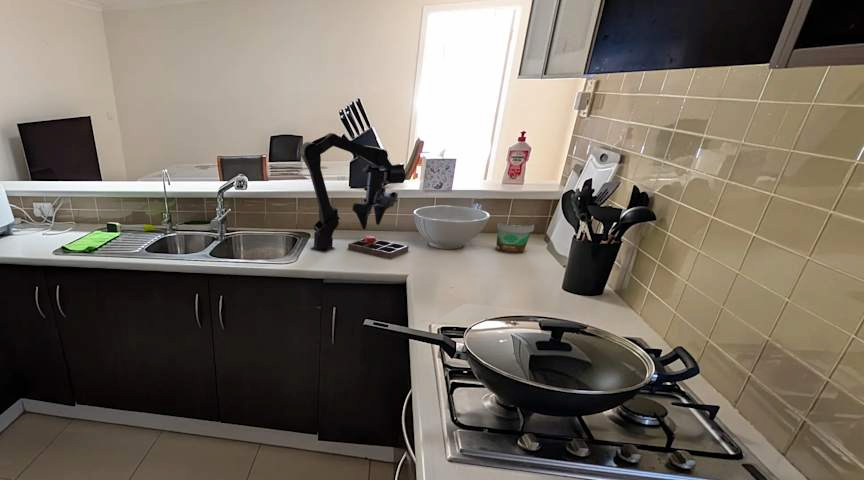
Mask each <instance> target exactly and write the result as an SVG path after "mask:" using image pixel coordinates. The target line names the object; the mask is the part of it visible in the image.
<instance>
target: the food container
mask: <svg viewBox="0 0 864 480" xmlns="http://www.w3.org/2000/svg"><path fill="white" fill-rule="evenodd" d="M496 229H497V235H496V244H495V250H496V251H497V252H500V253H504V254H510V255H511V254H512V255H516V254H523V253H524V252H525V249H526V246H527V244H528V241H529V239H530V236H531V233H532V232H534V230H535V225H534V224H532V225H521V224H517V223H514V224H513V223H512V224H505V223H501V222H500V221H498V223H497V224H496Z"/></svg>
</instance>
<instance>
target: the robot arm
mask: <svg viewBox="0 0 864 480" xmlns="http://www.w3.org/2000/svg"><path fill="white" fill-rule="evenodd" d="M333 147H335V148H338V149H340V150H343V151H345V152H348V153H351V154H354V155H357V156H359V157H360V158H361V159H363V160H364V161H366V162H368V163H369V164H367V165H366V166H365V167H364V168H363V169H362V172H364V173H367V182H366V186H364V189H363V190H364V191H366V192H365V193H366V194H365V198H363V201H358V202H354V204H352V210H351V211H353V213H355V214H356V216H357V218H358V221H359V223H360V226H361V228H362V230H366V229H367V224H368V220H369V216H370V215H371V214H372V209H373V211H374V219H375V225H376V226H380V224H381V222H382V219H383V217H384V214H385V212H386V211H387V210H388V209H390V208H391V207H392V208H393V207H394V206H395V203H398V199H399V198H398V192H396V191H393V192H391V193H390V192H386V187H385V186H384V182H385V183H386V185H392V184H393V185H394V184H395V185H396V184H403V183H405V181H406V177H407V174H406V168H405V164H404V163H396V164H392V163H391V161H390V159H389V154H388V151H387V150H386V149H385V148H381V147H377V146H372V145H371V146H370V145H364V144H361V143H358V142H355V141H353V140H350V139H347V138H345V137H342V136H339V135H337V134H336V133H333V132H329V133H327V134H325V135H323V136H321V137H319V138H317V139H315V140H313V141H306V142H304V143H303V144H302V145H301V146H300V148H299V154H300V156H301V158H302V161H303V163H304V164H305V167H306V168H307V169H308V172H309V175H310V179H311V183H312V186H313V190H314V193H315V197H316V201H317V203H318V220H317V222H316V223H314V225H313V229H314V231H315V232H314V233H313V246H312V247H311V248H310V249H311V250H314V251H317V252H322V253H325V252H328V251H330V250H331V251H332V250H334V249H335V247H334V246H333V241H334V238H333V234H334V231H335V230H337V228H338V227H339V225H340V220H341V218H340V217H339V211H338V208H337V207H335V206H334V205H331V202H330V198H329V193H328V191H327V187H326V182H325V179H324V175H323V171H322V167H321V166H322V165H321V164H322V157H321V155H323V154H324V153H325V152H327V151H328V150H330V149H331V148H333ZM370 164H371V165H374V166H371V165H370ZM380 167H381V168H380Z"/></svg>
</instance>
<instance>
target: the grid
mask: <svg viewBox="0 0 864 480" xmlns="http://www.w3.org/2000/svg"><path fill="white" fill-rule="evenodd" d="M364 240H365V237H363V238H361V239H358V240H356V241H353V242H350V243H348V245H347V250H348V251H352V252H357V253H360V254H365V255H369V256H373V257H374V256H375V257H378V258H383V259H386V260H391V259H393V258H396V257H398V256H401V255H403V254H406V253H409V247H410V245H407V244H402V243H396V242H392V241H388V240H384V239H383V240H382V239H377V238H375V242H373V243H369V242H364Z"/></svg>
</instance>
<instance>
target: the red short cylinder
mask: <svg viewBox="0 0 864 480" xmlns="http://www.w3.org/2000/svg"><path fill="white" fill-rule="evenodd" d="M364 238H365V240H364V242H369V243H373V242H375V239H376V236H374V235H365V236H364Z"/></svg>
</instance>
